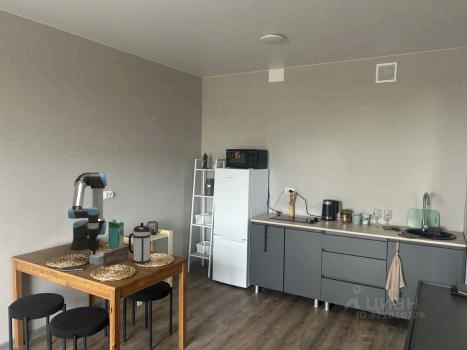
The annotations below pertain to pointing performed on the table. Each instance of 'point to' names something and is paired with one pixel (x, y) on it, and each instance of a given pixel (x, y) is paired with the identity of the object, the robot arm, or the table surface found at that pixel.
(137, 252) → the coffee press
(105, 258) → the board
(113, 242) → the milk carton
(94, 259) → the block
